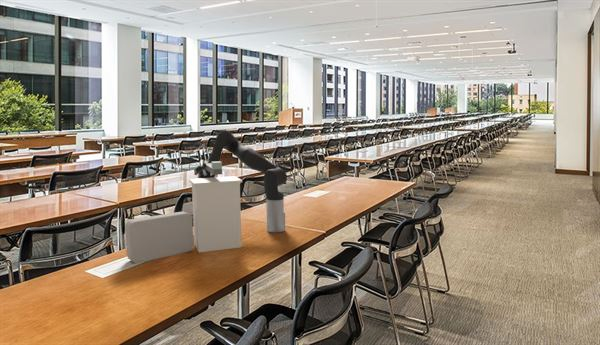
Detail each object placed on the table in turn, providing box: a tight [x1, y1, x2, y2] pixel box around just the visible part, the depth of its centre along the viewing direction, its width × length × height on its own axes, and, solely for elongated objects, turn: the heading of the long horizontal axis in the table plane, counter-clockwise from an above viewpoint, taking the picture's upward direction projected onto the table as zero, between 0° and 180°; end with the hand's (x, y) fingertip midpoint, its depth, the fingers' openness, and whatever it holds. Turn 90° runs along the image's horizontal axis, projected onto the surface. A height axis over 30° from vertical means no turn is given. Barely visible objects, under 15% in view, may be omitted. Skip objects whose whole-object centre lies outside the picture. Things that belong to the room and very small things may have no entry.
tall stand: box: [189, 175, 243, 253], centre depth 213 cm, size 22×14×32 cm, turn 111°
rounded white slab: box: [124, 211, 194, 264], centre depth 201 cm, size 29×8×18 cm, turn 129°
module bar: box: [205, 160, 223, 176], centre depth 215 cm, size 4×24×6 cm, turn 21°
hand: (210, 164), depth 221 cm, fingers closed on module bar, 4 cm apart
